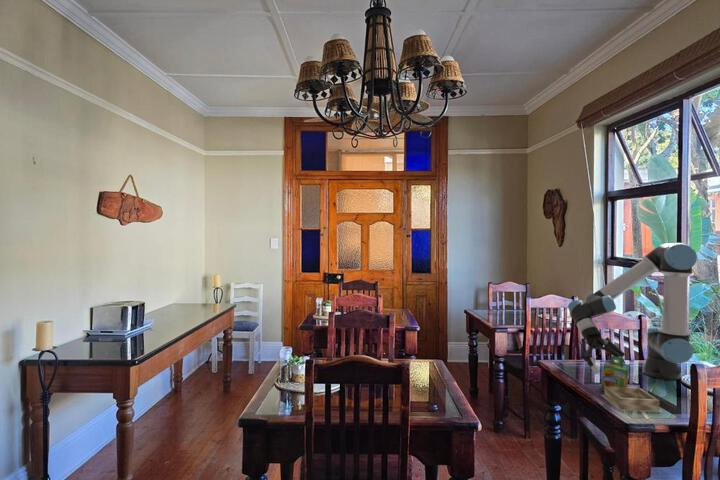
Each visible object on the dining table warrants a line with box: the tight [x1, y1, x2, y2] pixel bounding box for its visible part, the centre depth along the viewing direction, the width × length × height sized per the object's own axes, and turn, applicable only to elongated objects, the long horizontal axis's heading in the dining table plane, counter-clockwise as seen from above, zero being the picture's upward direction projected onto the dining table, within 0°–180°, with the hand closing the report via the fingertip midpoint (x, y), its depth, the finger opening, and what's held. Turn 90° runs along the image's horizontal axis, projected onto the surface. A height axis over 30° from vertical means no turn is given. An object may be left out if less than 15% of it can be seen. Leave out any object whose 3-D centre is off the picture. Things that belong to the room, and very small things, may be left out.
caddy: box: [603, 386, 660, 411], centre depth 170 cm, size 14×14×4 cm
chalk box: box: [600, 355, 630, 392], centre depth 183 cm, size 9×9×15 cm
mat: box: [600, 394, 664, 413], centre depth 170 cm, size 16×16×1 cm
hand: (611, 372), depth 184 cm, fingers open, 13 cm apart
